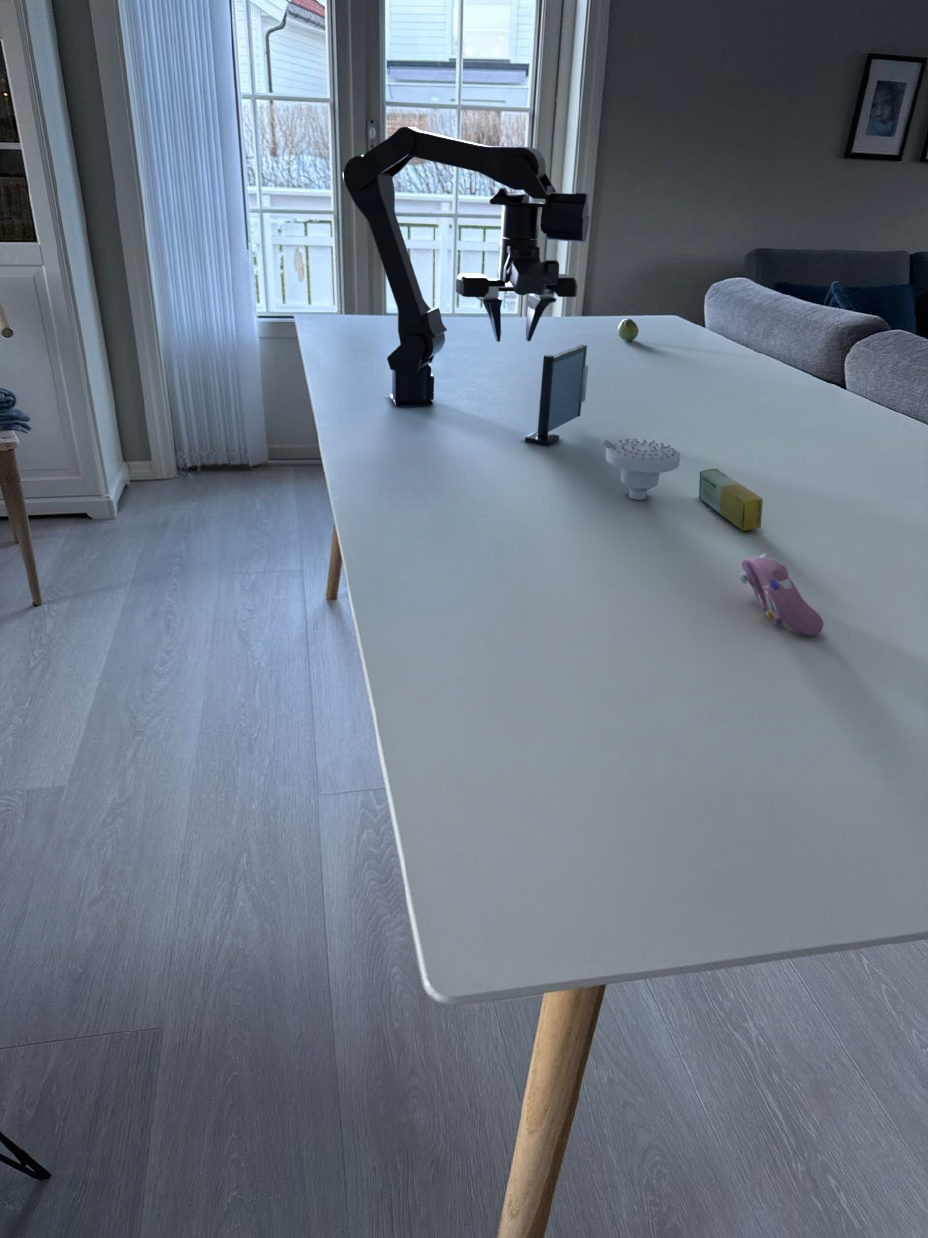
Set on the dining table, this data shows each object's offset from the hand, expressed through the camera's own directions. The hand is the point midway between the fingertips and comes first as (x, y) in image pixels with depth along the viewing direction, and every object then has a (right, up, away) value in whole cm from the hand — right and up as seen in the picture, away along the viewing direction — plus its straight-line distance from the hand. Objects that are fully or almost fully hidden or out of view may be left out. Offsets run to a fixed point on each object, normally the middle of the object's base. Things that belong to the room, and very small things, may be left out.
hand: (513, 341), depth 147 cm
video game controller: (+23, -45, -57) cm, 76 cm away
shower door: (+8, -14, -3) cm, 17 cm away
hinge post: (+4, -18, -8) cm, 20 cm away
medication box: (+25, -32, -33) cm, 52 cm away
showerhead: (+15, -29, -28) cm, 43 cm away
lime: (+31, +20, +66) cm, 76 cm away
